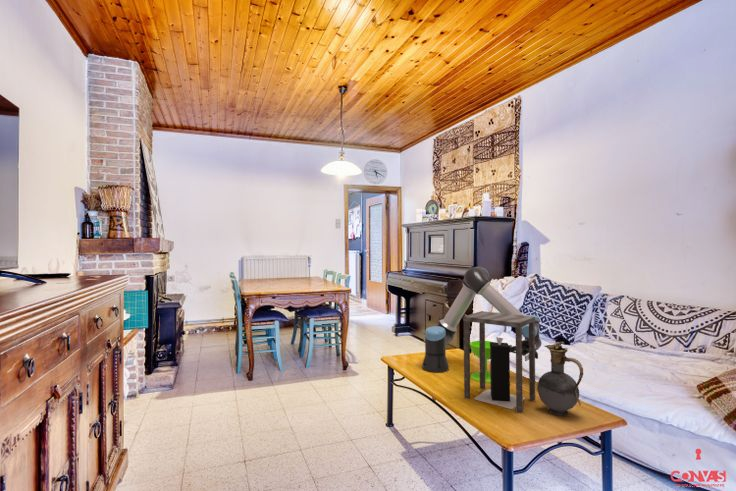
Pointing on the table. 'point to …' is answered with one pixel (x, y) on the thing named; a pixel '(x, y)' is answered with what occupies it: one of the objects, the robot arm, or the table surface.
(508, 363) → the tissue box
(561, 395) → the pitcher
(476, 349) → the wineglass
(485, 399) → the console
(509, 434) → the table surface
